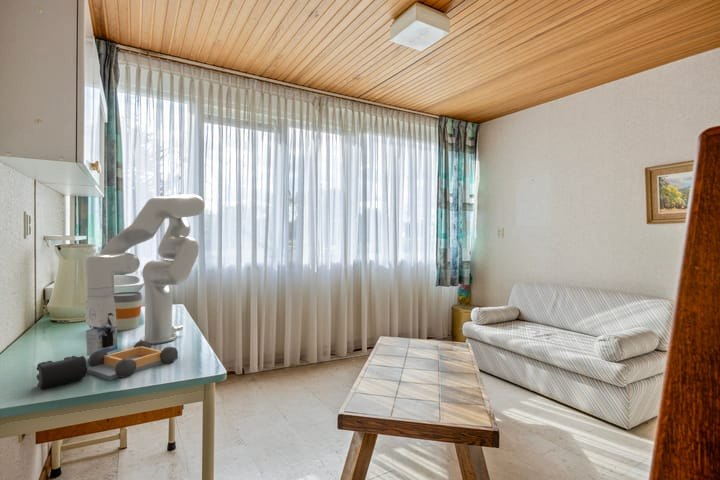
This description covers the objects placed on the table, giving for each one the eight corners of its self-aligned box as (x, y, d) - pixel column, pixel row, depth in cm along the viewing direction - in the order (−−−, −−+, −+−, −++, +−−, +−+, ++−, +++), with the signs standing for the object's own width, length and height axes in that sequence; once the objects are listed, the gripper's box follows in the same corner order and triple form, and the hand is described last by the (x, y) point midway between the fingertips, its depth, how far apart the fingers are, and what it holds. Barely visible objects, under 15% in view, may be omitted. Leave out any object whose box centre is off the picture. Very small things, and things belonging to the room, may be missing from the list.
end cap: (42, 393, 98) (42, 367, 98) (34, 386, 103) (34, 361, 103) (87, 381, 106) (87, 358, 106) (78, 375, 111) (78, 352, 111)
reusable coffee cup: (111, 332, 158) (111, 297, 158) (105, 327, 167) (106, 293, 167) (144, 328, 166) (145, 294, 166) (138, 322, 176) (138, 290, 176)
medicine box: (97, 357, 122) (96, 330, 122) (86, 355, 123) (85, 329, 123) (118, 349, 130) (117, 324, 130) (107, 347, 131) (106, 323, 131)
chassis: (151, 352, 134) (151, 337, 133) (181, 359, 126) (181, 344, 126) (82, 371, 114) (82, 354, 114) (113, 381, 107) (113, 364, 107)
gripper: (74, 291, 126) (76, 344, 127) (103, 296, 118) (105, 353, 119) (98, 288, 133) (99, 338, 134) (127, 292, 125) (129, 346, 126)
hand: (102, 344), depth 127 cm, fingers closed on medicine box, 5 cm apart
